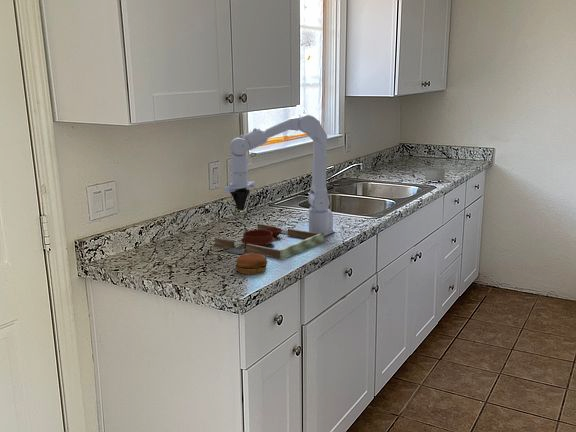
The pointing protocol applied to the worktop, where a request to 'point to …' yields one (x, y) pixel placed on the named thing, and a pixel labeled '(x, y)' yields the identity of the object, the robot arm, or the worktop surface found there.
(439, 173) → the teacup
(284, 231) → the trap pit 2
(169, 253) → the worktop surface
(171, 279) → the worktop surface
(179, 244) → the worktop surface
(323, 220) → the robot arm
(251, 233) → the pottery
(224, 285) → the worktop surface
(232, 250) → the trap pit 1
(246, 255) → the burger
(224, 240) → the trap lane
